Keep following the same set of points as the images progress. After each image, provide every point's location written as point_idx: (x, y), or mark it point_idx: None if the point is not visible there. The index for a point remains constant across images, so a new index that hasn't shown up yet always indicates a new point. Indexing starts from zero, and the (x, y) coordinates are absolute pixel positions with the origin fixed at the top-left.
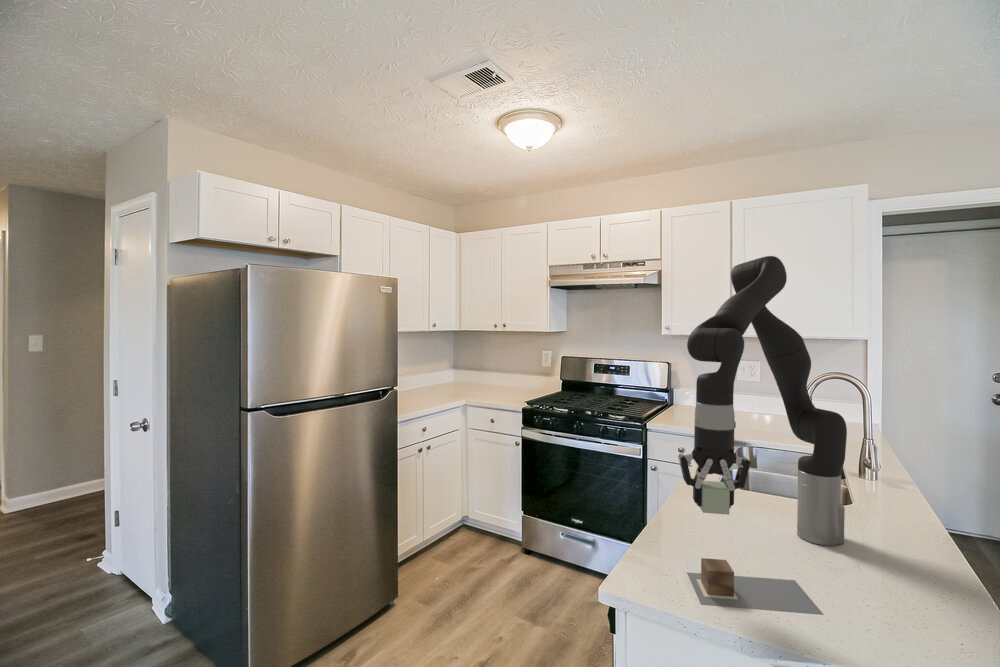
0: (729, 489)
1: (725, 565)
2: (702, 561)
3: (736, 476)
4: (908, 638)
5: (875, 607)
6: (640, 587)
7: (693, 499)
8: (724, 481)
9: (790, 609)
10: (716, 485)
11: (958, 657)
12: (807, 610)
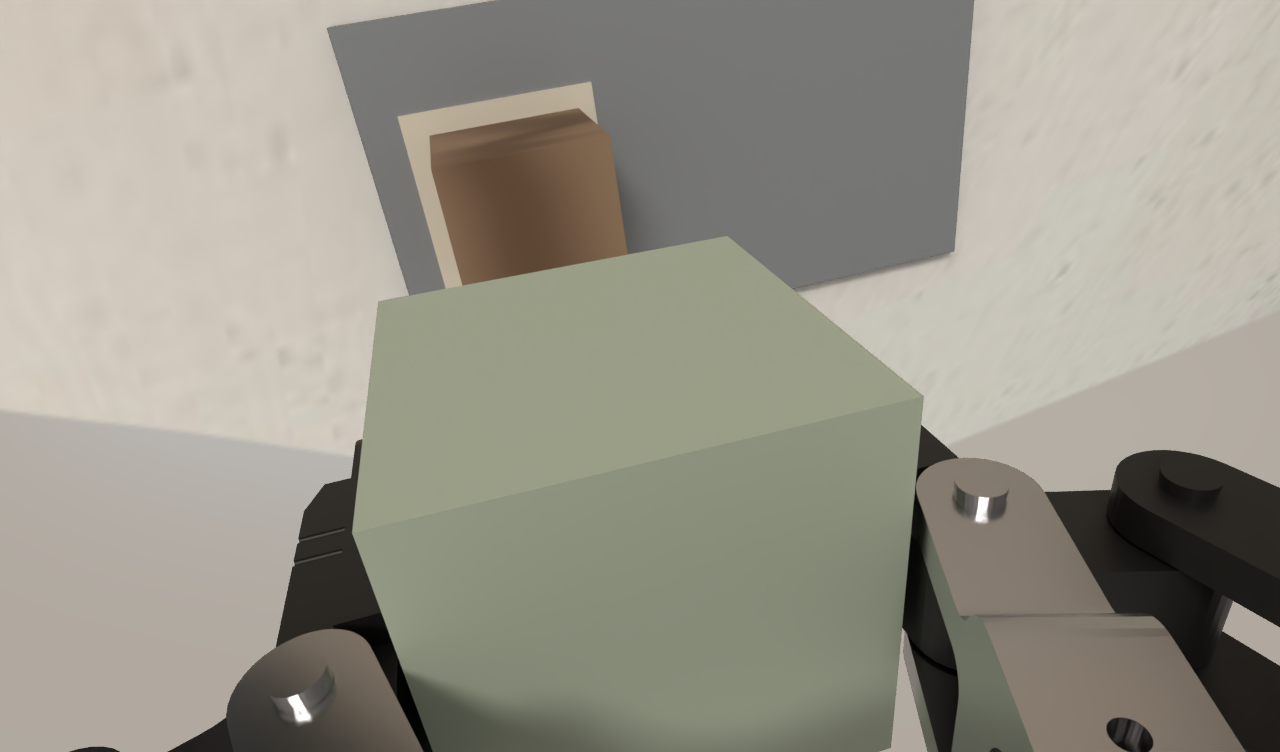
0: (906, 647)
1: (593, 223)
2: (440, 200)
3: (1260, 611)
4: (1158, 277)
5: (1201, 77)
6: (59, 294)
7: (315, 513)
8: (934, 591)
9: (834, 262)
10: (734, 663)
11: (1223, 329)
12: (903, 242)
